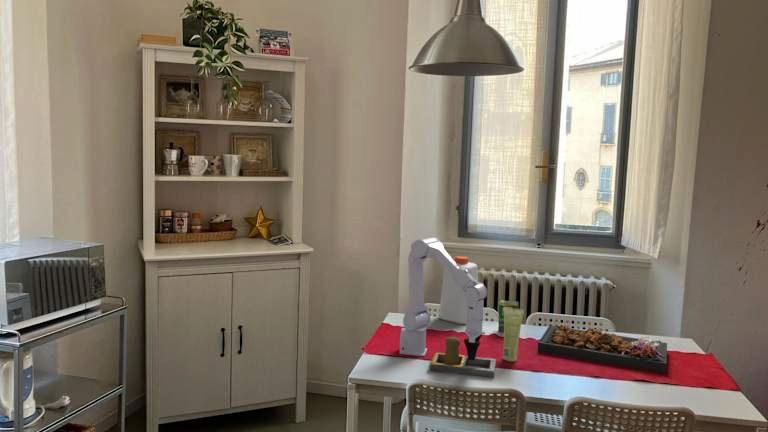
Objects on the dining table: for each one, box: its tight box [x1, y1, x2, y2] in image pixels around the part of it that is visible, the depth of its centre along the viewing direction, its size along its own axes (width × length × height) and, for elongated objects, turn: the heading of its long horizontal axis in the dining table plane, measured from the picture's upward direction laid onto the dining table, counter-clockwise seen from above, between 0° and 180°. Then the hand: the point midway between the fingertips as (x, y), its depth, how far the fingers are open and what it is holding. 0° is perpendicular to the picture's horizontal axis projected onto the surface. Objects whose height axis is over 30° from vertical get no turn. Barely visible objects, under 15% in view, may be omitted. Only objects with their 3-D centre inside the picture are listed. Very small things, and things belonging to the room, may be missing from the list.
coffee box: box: [497, 299, 519, 333], centre depth 261 cm, size 8×3×13 cm, turn 70°
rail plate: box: [429, 352, 497, 379], centre depth 220 cm, size 22×12×3 cm, turn 77°
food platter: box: [537, 324, 668, 375], centre depth 240 cm, size 45×25×10 cm, turn 65°
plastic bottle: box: [438, 255, 479, 325], centre depth 277 cm, size 15×15×28 cm
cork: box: [442, 336, 461, 365], centre depth 220 cm, size 6×6×11 cm
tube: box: [502, 307, 525, 362], centre depth 229 cm, size 6×5×20 cm
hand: (472, 355), depth 218 cm, fingers open, 7 cm apart
